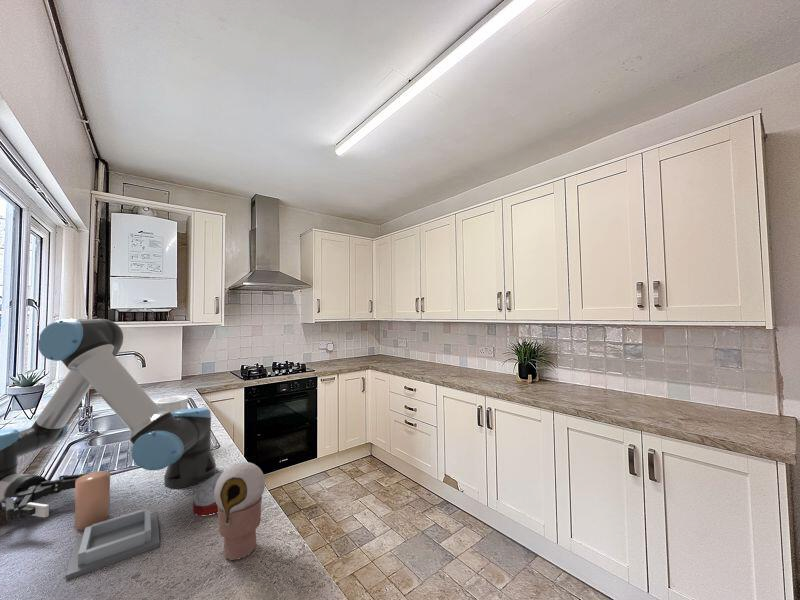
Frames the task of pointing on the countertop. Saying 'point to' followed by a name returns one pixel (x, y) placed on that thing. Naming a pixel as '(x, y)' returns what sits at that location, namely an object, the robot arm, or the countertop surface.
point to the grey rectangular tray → (114, 541)
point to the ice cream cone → (239, 507)
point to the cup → (172, 403)
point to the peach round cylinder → (92, 499)
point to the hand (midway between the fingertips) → (78, 496)
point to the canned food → (206, 497)
